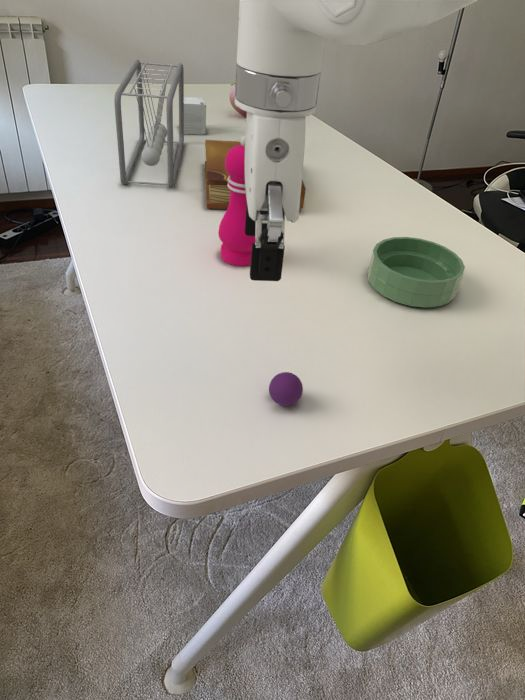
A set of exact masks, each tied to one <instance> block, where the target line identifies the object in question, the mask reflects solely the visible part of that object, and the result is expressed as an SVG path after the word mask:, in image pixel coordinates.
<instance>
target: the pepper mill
mask: <svg viewBox="0 0 525 700" xmlns="http://www.w3.org/2000/svg"><path fill="white" fill-rule="evenodd" d="M245 137H246V134H244V135H242V137H241V138H240V141H239V142H241V145H237V146H235V147H233V148H232V149H230V151H229V152H228V153H227V156H226V159H225V168H226V170H227V172H228V173H229V175H230V176H229V177H228V184H227V186H228V188H229V189H230V201H229V205H228V209H226V211H225V213H224V214H223V216H222V218H221V220H220V223H219V226H218V232H217V233H218V238H219V240H220V242H221V245H220V258H221V260H222V261H224V262H225V263H226V264H229V265H232V266H236V267H237V266H238V267H244V266H245V267H246V266H250V265H251V252H252V243H255V236H247V235H246V234H245V220H246V205H247V198H246V189H245Z"/></svg>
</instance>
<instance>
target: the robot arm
mask: <svg viewBox="0 0 525 700" xmlns="http://www.w3.org/2000/svg"><path fill="white" fill-rule="evenodd" d="M478 1H479V0H239V3H238V4H239V5H238V23H237V24H238V27H237V43H236V44H237V47H236V67H235V69H236V70H235V82H236V87H235V105H236V106H237V107H239V108H240V109H242V110H244V111H246V112H247V117H246V119H245V120H246V121H245V135H246V137H245V189H246V198H247V205H246V220H245V234H246V235H247V236H255V243H252V252H251V264H250V265H249V279H250V280H251V281H254V282H255V281H256V282H257V281H261V282H279V281H281V280H282V272H283V266H284V257H285V256H284V255H285V250H286V246H285V223H286V222H290V223H291V224H295V223H296V222H297V221H298V219H299V216H300V211H299V206H300V195H301V184H302V180H303V175H304V161H305V148H306V117H309V116H312V115H313V114H314V113H316V110H317V103H318V96H319V95H318V94H319V90H320V89H319V88H320V83H321V82H320V81H321V75H322V72H321V71H322V67H323V61H324V60H323V59H324V51H325V43H326V40H327V41H330V42H333V43H336V44H338V45H343V46H347V47H348V46H349V47H362V46H368V45H372V44H375V43H379V42H382V41H386V40H388V39H392V38H395V37H400V36H404V35H409V34H411V33H414V32H416V31H418V30H421V29H424V28H426V27H427V26H429V25H431V24H433V23H436V22H438V21H441V20H442V19H444V18H446V17H448V16H450V15H452V14H453V13H456V12H458V11H460V10H462V9H464V8H466V7H467V6H470V5H472V4H474V3H476V2H478ZM285 221H286V222H285Z"/></svg>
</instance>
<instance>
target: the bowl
mask: <svg viewBox="0 0 525 700" xmlns="http://www.w3.org/2000/svg"><path fill="white" fill-rule="evenodd" d="M465 269H466V267H465V264H464V262H463V260H462V259H461V257H460V256H458V254H457V253H456V252H454V251H452V250H451V249H449V248H448V247H446V246H444V245H442V244H440V243H437V242H434V241H431V240H427V239H423V238H418V237H411V236H394V237H393V236H392V237H389V238H385V239H382V240H381V241H379V242H378V243H376V244H375V246H374V247H373V249H372V253H371V257H370V262H369V265H368V270H367V280H368V282H369V284H370V285H371V287H372V288H373V289H374V290H375V291H376V292H377V293H379V294H380V295H381V296H383V297H384V298H387V299H389V300H391V301H393V302H395V303H398V304H402V305H406V306H409V307H416V308H417V307H419V308H437V307H441V306H444V305H447V304H449V303H450V302H451V301H452V300H454V299H455V298H456V295H457V292H458V289H459V286H460V284H461V281H462V279H463V276H464V272H465Z"/></svg>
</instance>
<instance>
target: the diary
mask: <svg viewBox="0 0 525 700" xmlns="http://www.w3.org/2000/svg"><path fill="white" fill-rule="evenodd" d="M204 143H205V144H204V146H205V147H204V148H205V161H204V175H205V195H206V196H205V197H206V209H215V210H227V209H228V205H229V201H230V189H229V188H228V186H227V184H228V177H229V176H230V175H229V173H228V172H227V170H226V168H225V159H226V156H227V153H228V152H229V151H230V149H232V148H233V147H235V146H237V145H241V142H240V141H239V140H238V141H237V140H218V139H216V140H215V139H205V141H204ZM306 192H307V188H306V185H305V183H304V181H303V179H302V184H301V195H300V206H299V212H300V211H301V210H302V209H303V208H304V205H305V198H306Z"/></svg>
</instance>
